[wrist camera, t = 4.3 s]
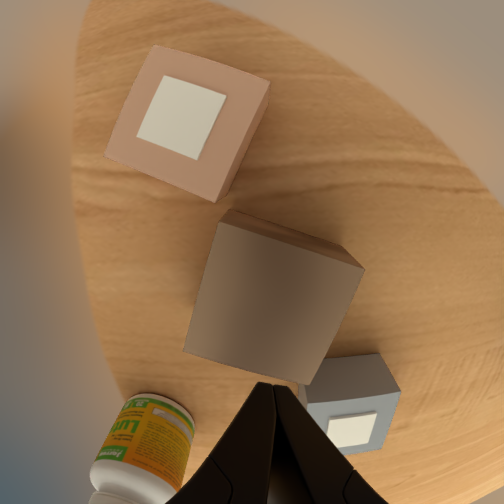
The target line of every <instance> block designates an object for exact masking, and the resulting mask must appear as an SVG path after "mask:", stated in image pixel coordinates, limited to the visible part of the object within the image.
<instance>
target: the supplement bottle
mask: <svg viewBox="0 0 504 504" xmlns="http://www.w3.org/2000/svg"><path fill="white" fill-rule="evenodd" d="M194 432H195V425H194V421H193V419H192V417H191V416H190V414H189V413H188V412H187V411H186V410H185V409H184V408H183V407H182V406H180V405H179V404H177V403H176V402H174V401H172V400H170V399H168V398H165V397H163V396H159V395H155V394H138V395H135V396H133V397H131V398H130V399H128V401H127V402H126V403H125V405H124V406H123V408H122V410H121V412H120V414H119V415H118V418H117V419H116V421H115V423H114V425H113V427H112V428H111V431H110V432H109V434H108V436H107V438H106V440H105V442H104V444H103V446H102V447H101V450H100V451H99V453H98V455H97V457H96V459H95V461H94V463H93V466H92V468H91V470H90V479H91V482H92V484H93V486H94V487H95V489H96V490H97V492H94V493H93V494H92V496H91V499H90V501H89V503H88V504H165V503H166V502H167V501H168V500H169V499H171V498H172V497H173V496H174V495H175V494H176V493H177V492H178V491H179V490H180V489H181V485H182V481H183V477H184V473H185V469H186V465H187V461H188V457H189V452H190V449H191V445H192V441H193V437H194Z"/></svg>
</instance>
